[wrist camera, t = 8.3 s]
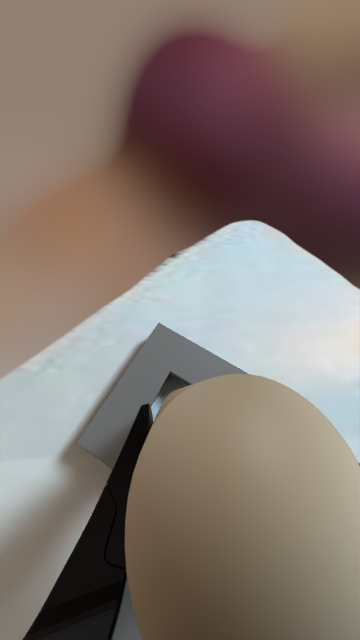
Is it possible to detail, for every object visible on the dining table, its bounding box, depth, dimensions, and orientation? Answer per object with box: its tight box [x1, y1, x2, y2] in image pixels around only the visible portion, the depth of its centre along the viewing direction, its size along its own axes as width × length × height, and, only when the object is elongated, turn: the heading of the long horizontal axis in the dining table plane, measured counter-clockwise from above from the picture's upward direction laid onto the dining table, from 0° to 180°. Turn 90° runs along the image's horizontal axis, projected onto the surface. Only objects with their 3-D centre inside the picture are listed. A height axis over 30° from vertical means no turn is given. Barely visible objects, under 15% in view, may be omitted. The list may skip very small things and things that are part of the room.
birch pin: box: [125, 374, 360, 640], centre depth 9 cm, size 4×4×14 cm
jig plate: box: [77, 323, 248, 469], centre depth 19 cm, size 14×14×3 cm
